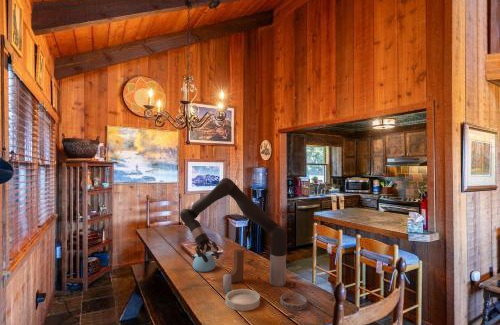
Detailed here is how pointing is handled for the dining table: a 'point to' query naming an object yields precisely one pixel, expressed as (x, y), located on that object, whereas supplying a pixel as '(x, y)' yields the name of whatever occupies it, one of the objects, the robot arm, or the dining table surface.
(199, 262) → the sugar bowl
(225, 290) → the grey peg
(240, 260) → the wooden block
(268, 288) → the dining table surface
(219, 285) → the dining table surface
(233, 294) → the round tray
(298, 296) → the bracelet
